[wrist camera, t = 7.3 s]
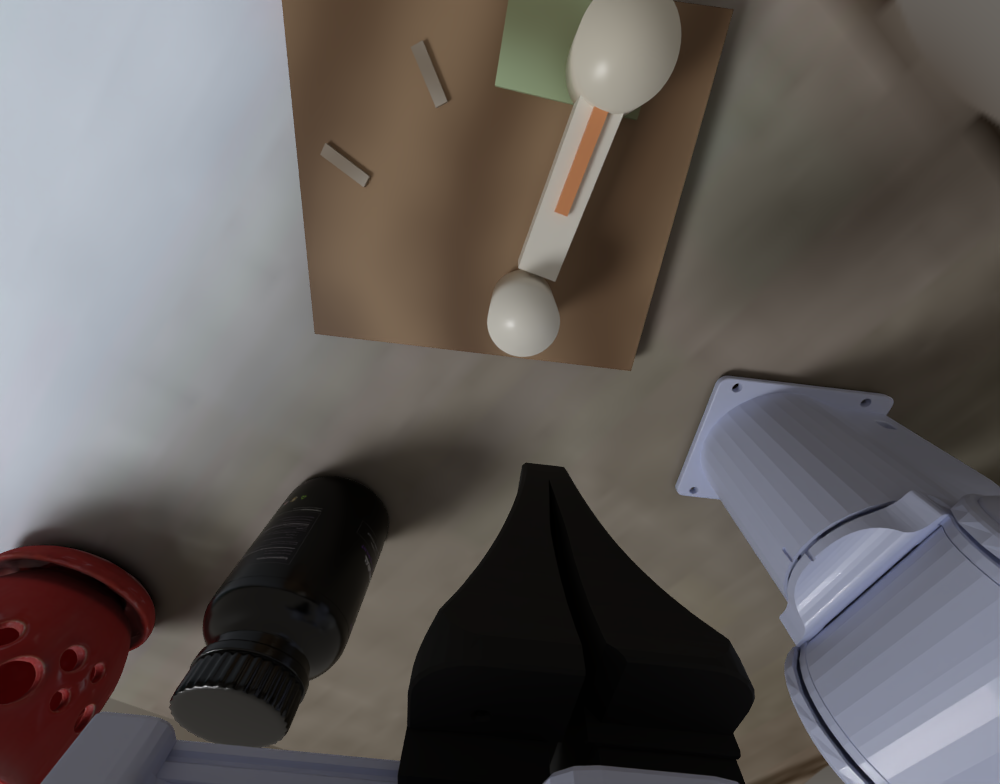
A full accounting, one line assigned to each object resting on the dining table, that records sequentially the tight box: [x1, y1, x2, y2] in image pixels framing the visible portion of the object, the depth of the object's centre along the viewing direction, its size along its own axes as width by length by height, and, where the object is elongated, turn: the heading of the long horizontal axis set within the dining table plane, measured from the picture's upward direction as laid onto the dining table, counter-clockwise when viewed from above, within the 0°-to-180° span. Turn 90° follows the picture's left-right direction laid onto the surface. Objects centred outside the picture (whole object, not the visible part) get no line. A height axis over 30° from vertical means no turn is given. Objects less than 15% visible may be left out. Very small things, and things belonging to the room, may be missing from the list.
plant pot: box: [0, 545, 155, 784], centre depth 26 cm, size 13×13×12 cm
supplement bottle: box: [169, 476, 389, 748], centre depth 22 cm, size 7×7×12 cm
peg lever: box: [487, 0, 681, 357], centre depth 15 cm, size 12×3×3 cm, turn 161°
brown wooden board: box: [282, 0, 734, 371], centre depth 18 cm, size 16×14×1 cm
